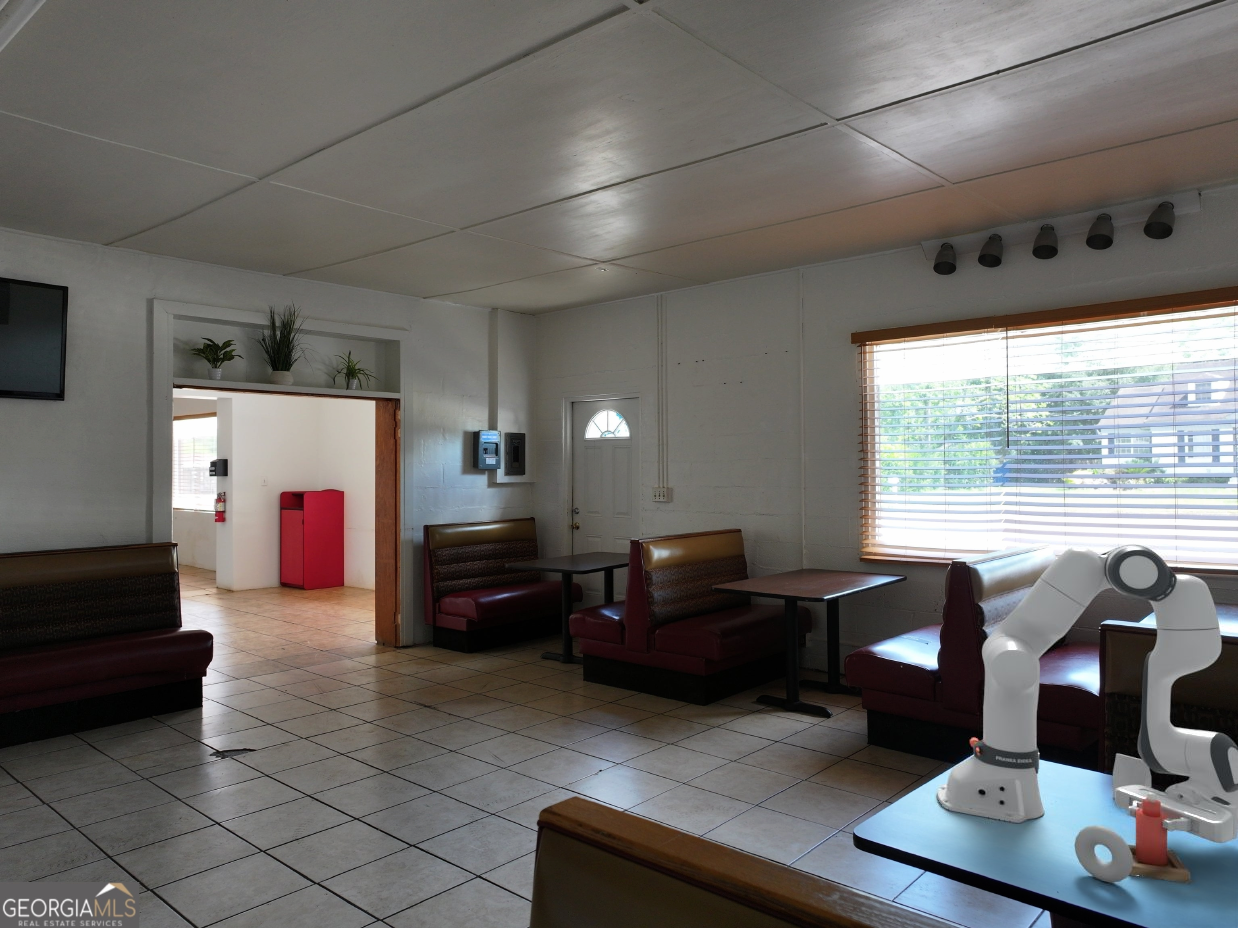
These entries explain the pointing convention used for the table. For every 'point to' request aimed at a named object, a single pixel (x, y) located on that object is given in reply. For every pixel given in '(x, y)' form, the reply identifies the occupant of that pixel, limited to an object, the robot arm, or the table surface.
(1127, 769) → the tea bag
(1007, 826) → the table surface
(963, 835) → the table surface
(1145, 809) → the ketchup bottle
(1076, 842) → the donut
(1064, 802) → the table surface
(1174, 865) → the condiment tray
